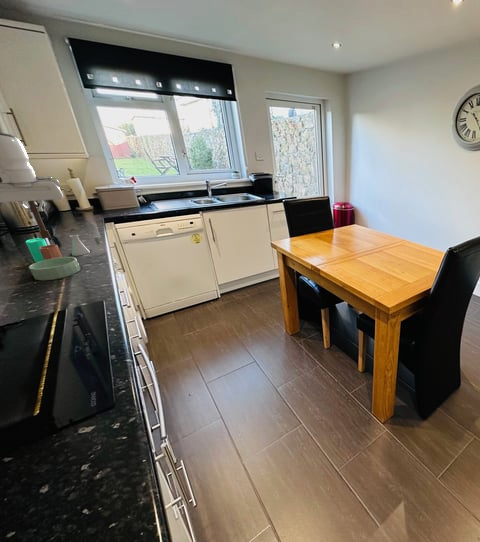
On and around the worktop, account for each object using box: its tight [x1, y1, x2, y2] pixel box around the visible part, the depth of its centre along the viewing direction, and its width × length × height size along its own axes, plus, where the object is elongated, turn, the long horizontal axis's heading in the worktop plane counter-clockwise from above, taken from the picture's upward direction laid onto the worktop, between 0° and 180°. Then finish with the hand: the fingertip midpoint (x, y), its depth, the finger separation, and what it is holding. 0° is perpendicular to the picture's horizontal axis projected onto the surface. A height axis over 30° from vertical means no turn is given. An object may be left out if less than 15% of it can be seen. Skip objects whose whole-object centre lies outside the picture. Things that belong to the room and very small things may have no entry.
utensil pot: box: [39, 244, 63, 260], centre depth 129 cm, size 6×6×9 cm
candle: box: [25, 236, 48, 263], centre depth 133 cm, size 6×6×12 cm
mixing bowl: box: [28, 256, 81, 281], centre depth 121 cm, size 14×14×6 cm
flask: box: [69, 234, 91, 256], centre depth 142 cm, size 7×7×10 cm
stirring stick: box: [26, 201, 51, 239], centre depth 119 cm, size 3×2×16 cm
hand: (35, 211), depth 118 cm, fingers closed on stirring stick, 2 cm apart
